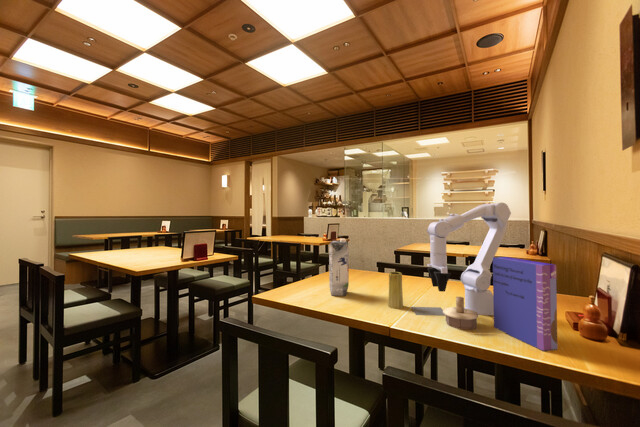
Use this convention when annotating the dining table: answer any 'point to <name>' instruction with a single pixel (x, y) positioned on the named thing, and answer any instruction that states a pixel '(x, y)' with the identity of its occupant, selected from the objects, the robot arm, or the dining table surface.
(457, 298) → the lid
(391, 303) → the vase
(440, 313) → the mat
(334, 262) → the juice carton
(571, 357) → the dining table surface
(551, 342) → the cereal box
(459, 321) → the bowl
